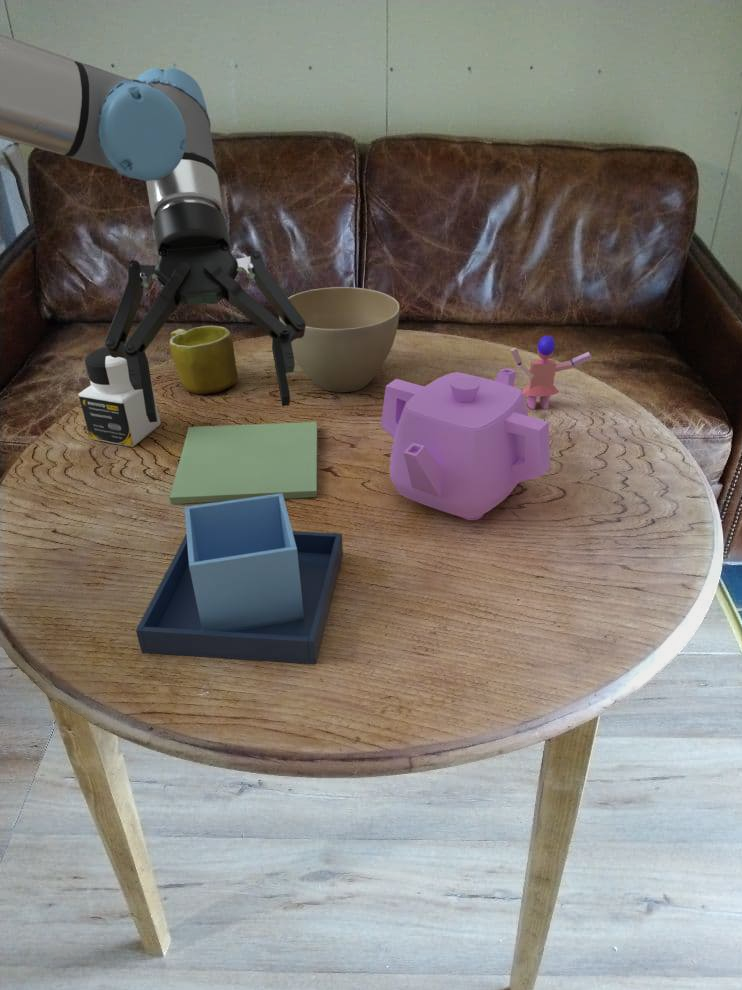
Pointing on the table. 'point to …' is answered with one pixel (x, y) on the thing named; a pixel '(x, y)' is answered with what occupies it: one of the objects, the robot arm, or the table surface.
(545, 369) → the figurine
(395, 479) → the teapot
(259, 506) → the upper bin
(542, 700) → the table surface
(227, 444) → the mat
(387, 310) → the beige bowl
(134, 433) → the medicine bottle
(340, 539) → the lower bin
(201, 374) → the mug
